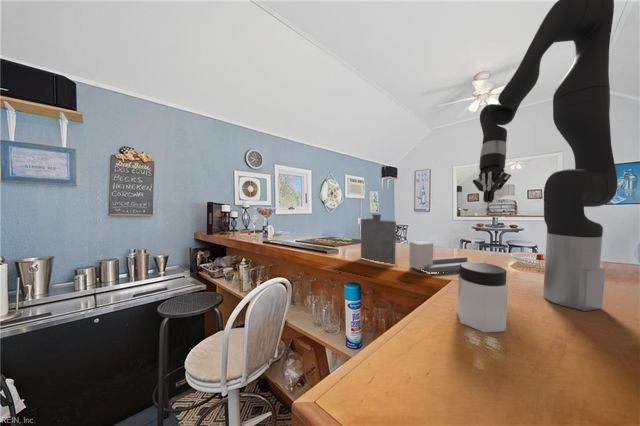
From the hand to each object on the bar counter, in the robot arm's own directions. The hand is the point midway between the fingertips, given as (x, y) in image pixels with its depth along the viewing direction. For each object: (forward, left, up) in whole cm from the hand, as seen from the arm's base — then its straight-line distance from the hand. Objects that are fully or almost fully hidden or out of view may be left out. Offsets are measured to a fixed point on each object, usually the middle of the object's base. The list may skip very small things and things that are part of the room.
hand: (488, 202), depth 82 cm
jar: (-27, +33, -25) cm, 50 cm away
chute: (+6, +11, -25) cm, 28 cm away
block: (+6, +23, -23) cm, 33 cm away
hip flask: (+20, +33, -25) cm, 46 cm away
